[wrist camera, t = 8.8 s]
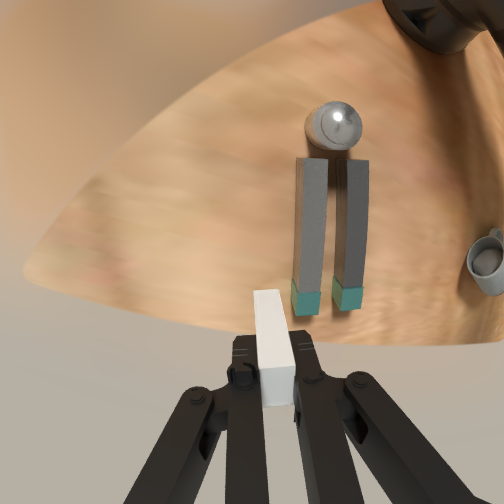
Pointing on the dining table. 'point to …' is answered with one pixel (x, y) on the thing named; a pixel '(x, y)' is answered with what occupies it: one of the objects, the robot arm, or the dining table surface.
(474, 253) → the ceramic mug
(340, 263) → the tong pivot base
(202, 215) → the dining table surface
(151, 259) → the dining table surface
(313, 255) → the tong swing arm
